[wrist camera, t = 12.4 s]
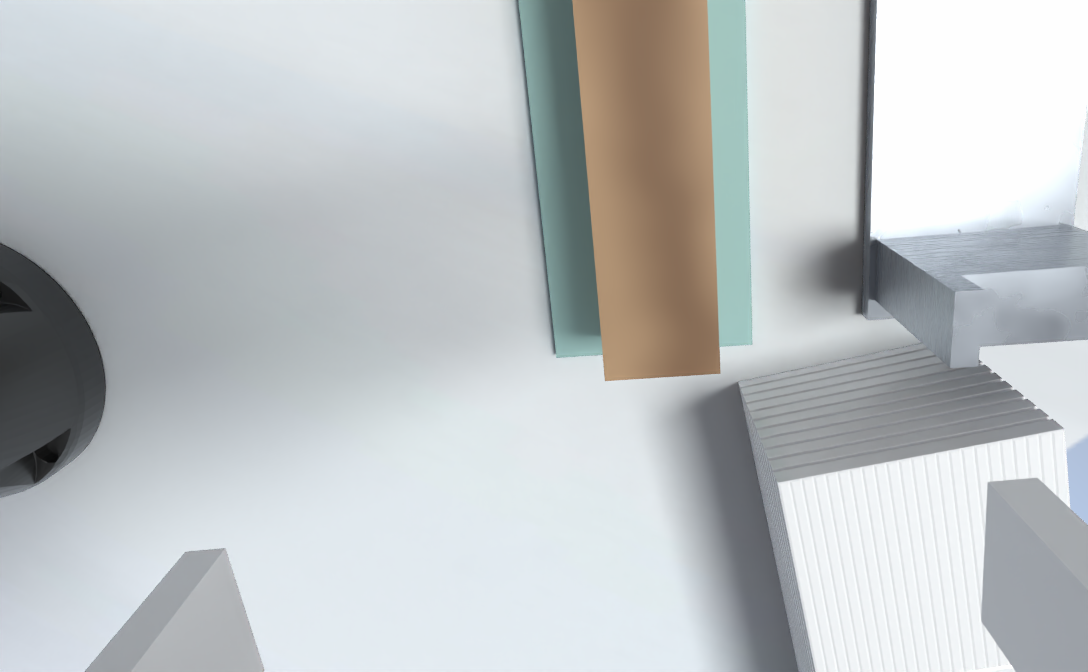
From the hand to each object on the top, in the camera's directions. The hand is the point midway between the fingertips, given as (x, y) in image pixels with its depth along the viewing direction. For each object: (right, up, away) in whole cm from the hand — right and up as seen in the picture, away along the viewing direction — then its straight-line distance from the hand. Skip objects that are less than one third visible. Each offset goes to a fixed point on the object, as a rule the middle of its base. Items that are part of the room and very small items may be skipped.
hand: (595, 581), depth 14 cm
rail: (+4, +15, +23) cm, 27 cm away
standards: (+18, +15, +22) cm, 32 cm away
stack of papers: (+19, -11, +31) cm, 38 cm away
